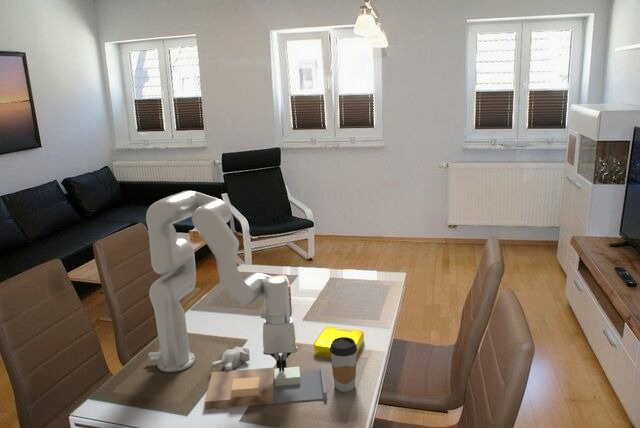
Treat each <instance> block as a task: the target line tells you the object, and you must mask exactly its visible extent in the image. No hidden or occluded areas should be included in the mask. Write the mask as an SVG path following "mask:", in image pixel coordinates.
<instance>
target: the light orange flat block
mask: <svg viewBox="0 0 640 428" xmlns="http://www.w3.org/2000/svg"><path fill="white" fill-rule="evenodd" d="M259 394H260V377H250V378H237V379H233V385H232V397H245V396H257V395H259Z"/></svg>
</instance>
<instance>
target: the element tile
mask: <svg viewBox="0 0 640 428" xmlns="http://www.w3.org/2000/svg"><path fill="white" fill-rule="evenodd" d="M339 337H349V338H352V339H353V340H354V341H355V343H356V345H357V351H356V358H358V354H359V353H360V352H361V349H362V347H363V346H364V344H365V332H364V331H363V330H361V329H355V328H353V329H352V328H343V327H335V326H326V327H325V328H324V329H322V331H321V333H320V334H319V335H318V337H317V338H316V340H315V341H314V343H313V351H314V355H315V356H317V357H322V358H330V359H331V352H330V345H331V342H332V340H334V339H336V338H339Z"/></svg>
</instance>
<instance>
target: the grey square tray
mask: <svg viewBox="0 0 640 428" xmlns="http://www.w3.org/2000/svg"><path fill="white" fill-rule="evenodd" d="M300 383H301V384H294V385H283V386H275V380H274V397H273V404H272V405H274V404H275V405H276V404H287V403H298V402H312V401H324V400H325V401H326V400H328V392H327V391H328V390H327V383H326V376H325V370H324V364H323V363H321V364H319V369H313V370H300Z"/></svg>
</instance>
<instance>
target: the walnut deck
mask: <svg viewBox="0 0 640 428" xmlns="http://www.w3.org/2000/svg"><path fill="white" fill-rule="evenodd" d="M274 369H275V367H264V368H252V369H251V368H250V369H235V370H230V371H229V370H224V371H212V372H211V375H210V378H209V383H208V387H207V390H206V395H205V399H204V409H205V410H208V409H209V410H211V409H213V410H214V409H222V408H223V409H224V408H225V409H226V408H234V407H246V406H248V407H249V406H260V405H274V404H273V397H274ZM250 377H260V394H259V395H257V396H245V397H232V385H233V379H237V378H250Z"/></svg>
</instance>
